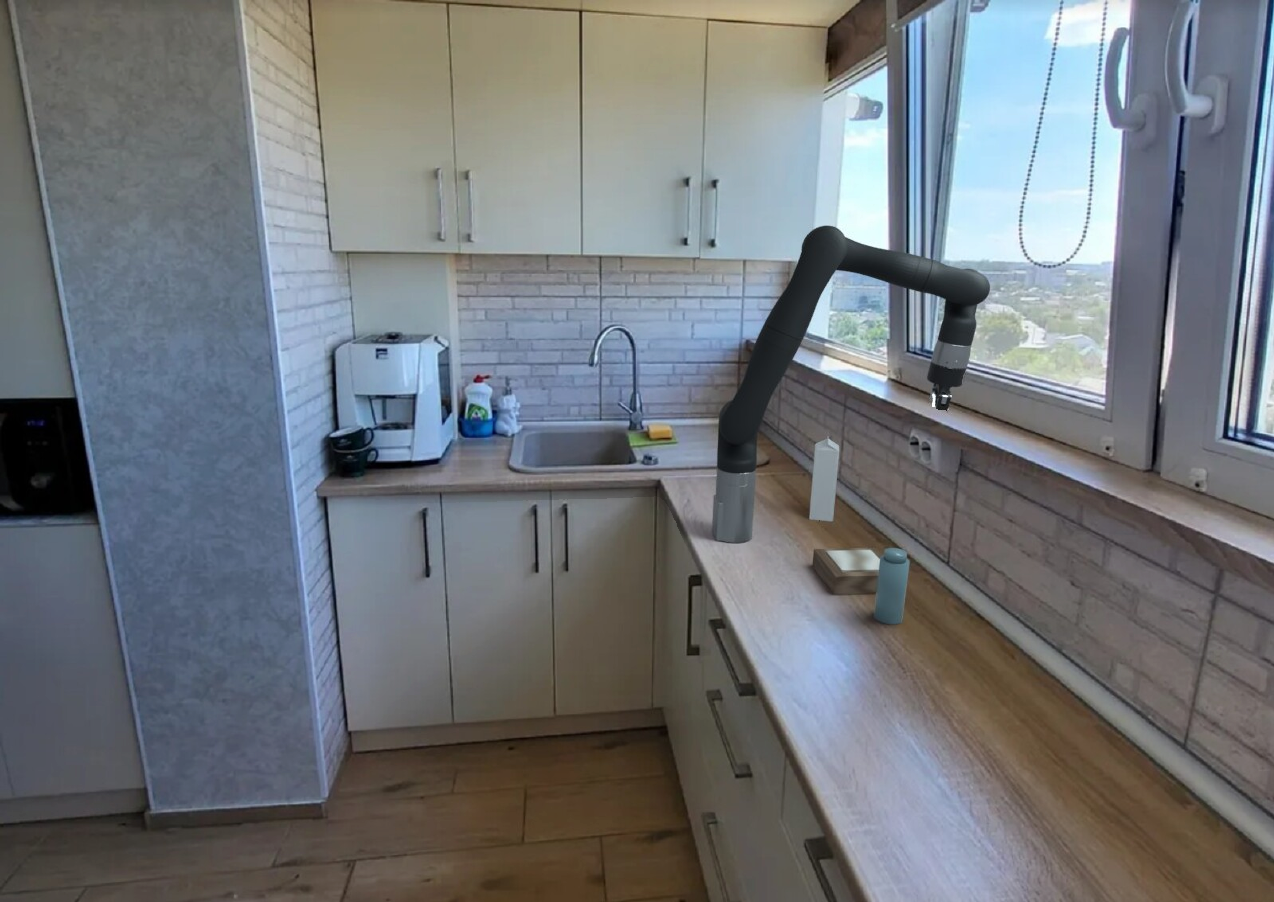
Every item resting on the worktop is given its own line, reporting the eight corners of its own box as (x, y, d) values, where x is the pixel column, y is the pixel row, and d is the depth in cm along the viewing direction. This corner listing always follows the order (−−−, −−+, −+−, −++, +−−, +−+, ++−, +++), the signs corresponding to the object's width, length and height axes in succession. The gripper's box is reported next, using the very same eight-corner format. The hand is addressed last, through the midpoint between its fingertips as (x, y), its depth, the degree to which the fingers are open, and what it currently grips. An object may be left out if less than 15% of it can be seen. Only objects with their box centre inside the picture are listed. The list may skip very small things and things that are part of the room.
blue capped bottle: (880, 624, 137) (887, 558, 134) (869, 611, 142) (876, 546, 139) (907, 624, 138) (915, 557, 134) (895, 610, 143) (903, 546, 139)
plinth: (834, 594, 149) (836, 574, 148) (812, 565, 162) (814, 547, 161) (900, 592, 150) (903, 573, 149) (873, 564, 164) (875, 546, 162)
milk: (809, 519, 190) (815, 437, 184) (809, 512, 196) (815, 431, 190) (833, 522, 189) (840, 439, 183) (833, 514, 194) (840, 433, 189)
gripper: (929, 352, 169) (913, 419, 175) (933, 366, 157) (916, 437, 163) (963, 358, 168) (946, 424, 174) (971, 372, 155) (951, 444, 161)
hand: (931, 431), depth 168 cm, fingers open, 8 cm apart
